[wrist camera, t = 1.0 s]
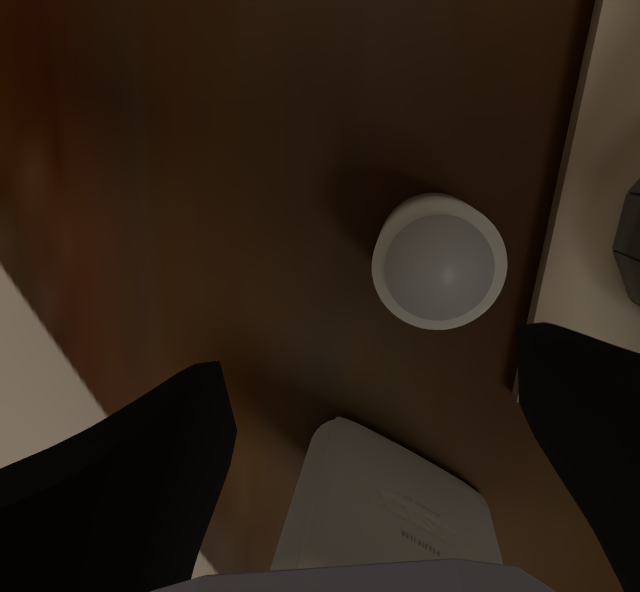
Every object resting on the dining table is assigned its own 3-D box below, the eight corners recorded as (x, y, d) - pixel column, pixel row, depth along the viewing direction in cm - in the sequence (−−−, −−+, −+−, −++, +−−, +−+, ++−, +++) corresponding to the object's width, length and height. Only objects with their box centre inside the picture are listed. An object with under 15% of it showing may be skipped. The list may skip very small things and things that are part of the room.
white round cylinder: (494, 197, 21) (521, 208, 16) (475, 301, 23) (495, 341, 18) (384, 187, 22) (378, 195, 17) (373, 289, 24) (364, 324, 19)
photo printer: (499, 493, 25) (578, 776, 14) (455, 546, 27) (494, 843, 15) (333, 400, 26) (272, 599, 14) (298, 456, 27) (216, 681, 15)
